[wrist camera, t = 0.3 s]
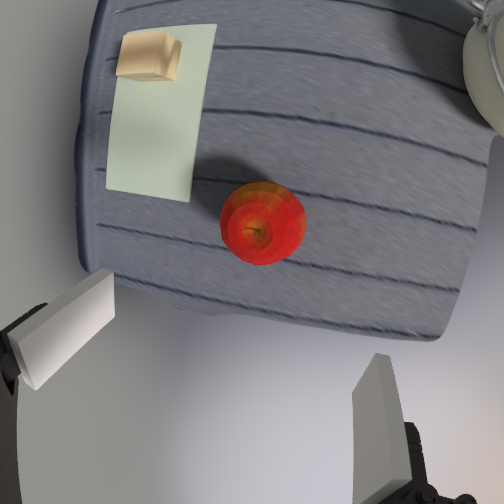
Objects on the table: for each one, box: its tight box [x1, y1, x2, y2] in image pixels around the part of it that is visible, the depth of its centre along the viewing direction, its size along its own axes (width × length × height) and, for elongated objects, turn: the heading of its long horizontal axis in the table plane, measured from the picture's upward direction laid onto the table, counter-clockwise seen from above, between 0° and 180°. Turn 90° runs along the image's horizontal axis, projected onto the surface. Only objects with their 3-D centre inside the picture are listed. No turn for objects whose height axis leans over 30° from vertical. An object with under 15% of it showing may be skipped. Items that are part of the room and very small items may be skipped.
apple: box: [220, 181, 306, 265], centre depth 33 cm, size 9×9×12 cm
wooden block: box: [116, 30, 182, 82], centre depth 31 cm, size 6×6×6 cm
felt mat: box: [106, 24, 217, 202], centre depth 37 cm, size 26×15×1 cm, turn 171°
